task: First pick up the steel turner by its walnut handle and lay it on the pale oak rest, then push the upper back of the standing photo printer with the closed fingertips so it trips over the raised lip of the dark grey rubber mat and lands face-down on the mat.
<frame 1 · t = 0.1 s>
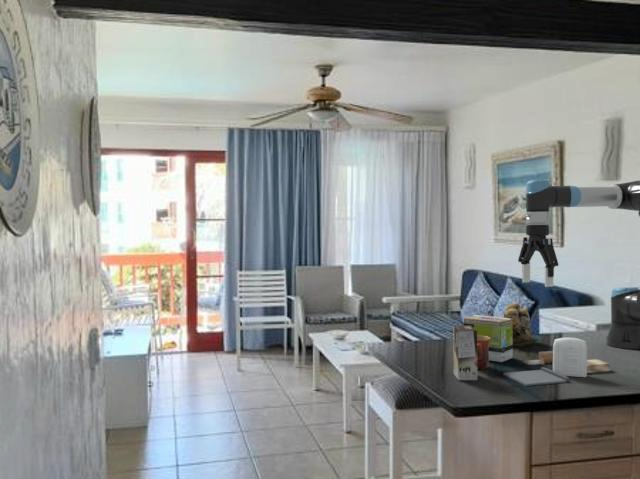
hand: (537, 284, 204), 28 cm above the table, tool pointing down, fingers open, 13 cm apart
mug: (478, 368, 198), on the table
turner: (546, 362, 205), on the table
coffee box: (465, 377, 188), on the table
mat: (535, 378, 185), on the table
tea box: (488, 357, 213), on the table
rest: (588, 369, 194), on the table
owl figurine: (517, 344, 233), on the table
photo printer: (569, 376, 188), on the table
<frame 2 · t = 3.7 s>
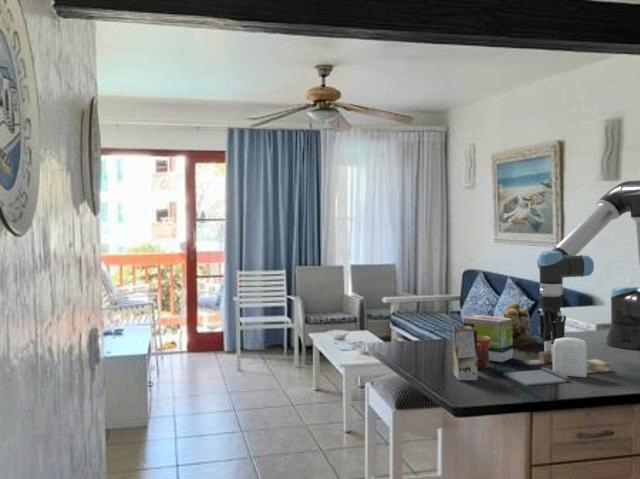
hand: (551, 360, 205), 0 cm above the table, tool pointing down, fingers closed on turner, 3 cm apart
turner: (546, 362, 205), on the table, touching gripper
everything else where it was.
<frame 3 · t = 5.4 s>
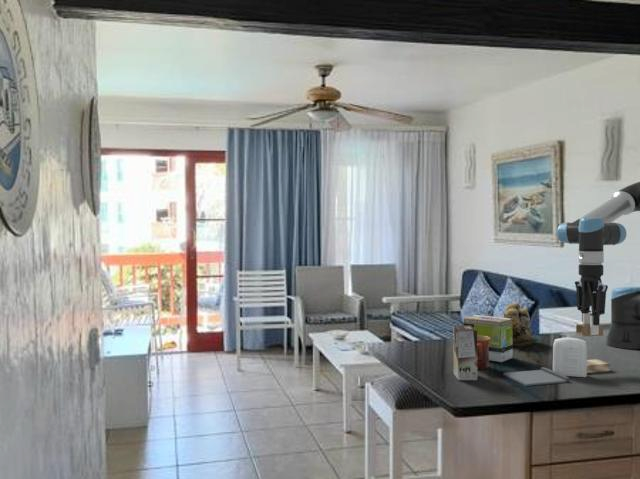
hand: (590, 333, 193), 12 cm above the table, tool pointing down, fingers closed on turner, 3 cm apart
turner: (584, 335, 193), point 12 cm above the table, touching gripper
everything else where it was.
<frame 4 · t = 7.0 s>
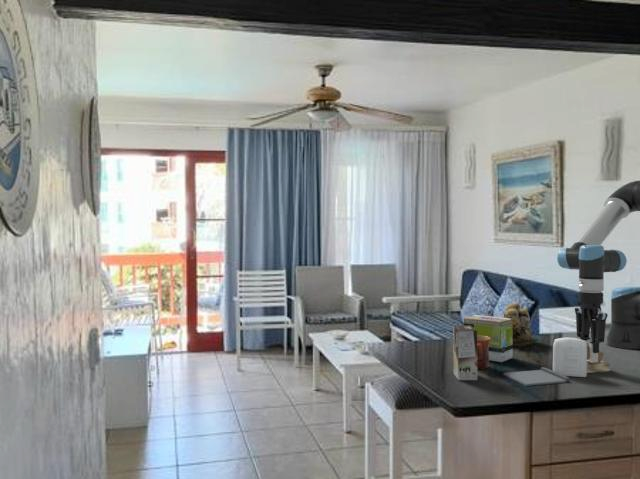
hand: (589, 360, 194), 3 cm above the table, tool pointing down, fingers closed on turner, 3 cm apart
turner: (582, 355, 193), point 5 cm above the table, tilted 25°, touching gripper, photo printer, rest
photo printer: (569, 376, 188), on the table, touching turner
everything else where it was.
when the fingers open (3 cm above the table, at t = 7.6 s): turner stays where it is, resting on rest.
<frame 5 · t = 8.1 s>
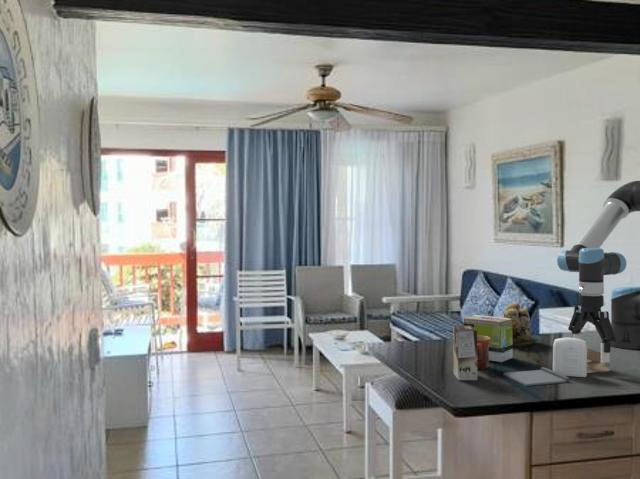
hand: (590, 357, 194), 4 cm above the table, tool pointing down, fingers open, 13 cm apart
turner: (581, 357, 193), point 4 cm above the table, tilted 18°, touching rest
photo printer: (569, 376, 188), on the table
everything else where it was.
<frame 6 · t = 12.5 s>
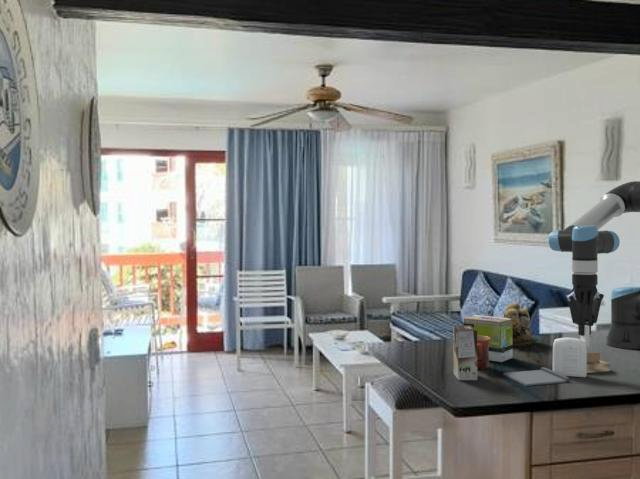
hand: (584, 345, 188), 10 cm above the table, tool pointing down, fingers closed
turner: (580, 362, 193), point 2 cm above the table, touching rest
photo printer: (569, 376, 187), on the table, touching gripper, mat
everything else where it was.
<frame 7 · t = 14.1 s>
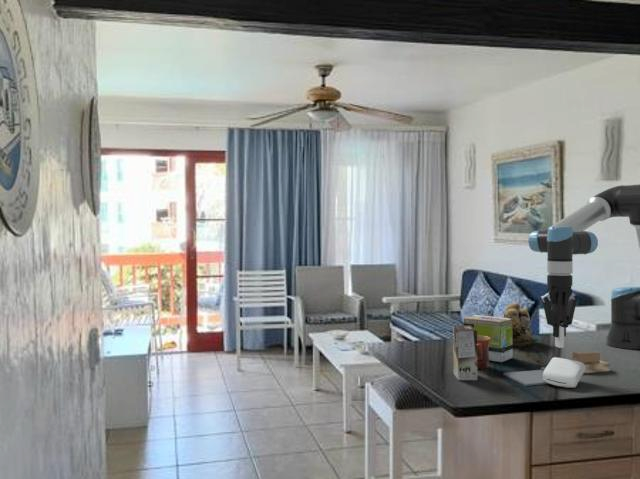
hand: (559, 346, 186), 10 cm above the table, tool pointing down, fingers closed
photo printer: (568, 364, 183), point 5 cm above the table, touching mat
everything else where it was.
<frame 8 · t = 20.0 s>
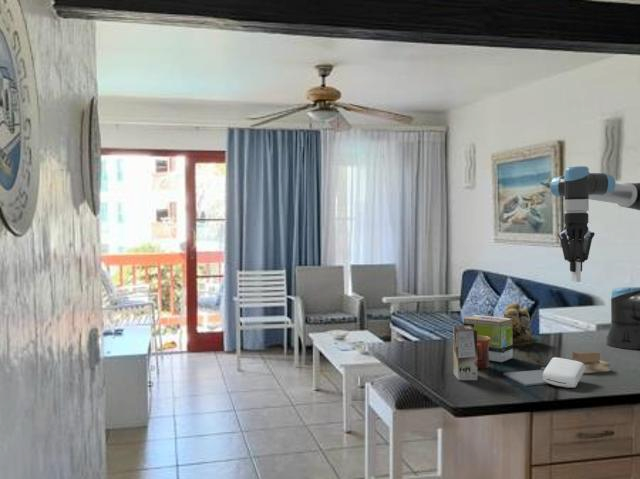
hand: (576, 281, 197), 29 cm above the table, tool pointing down, fingers closed
nothing on the table moved.
at the end: photo printer tilted 104°; photo printer inside the target area (7.9 cm from its centre), point 4.7 cm above the table; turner inside the target area on the rest (2.7 cm from its centre), point 2.5 cm above the rest's base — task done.
